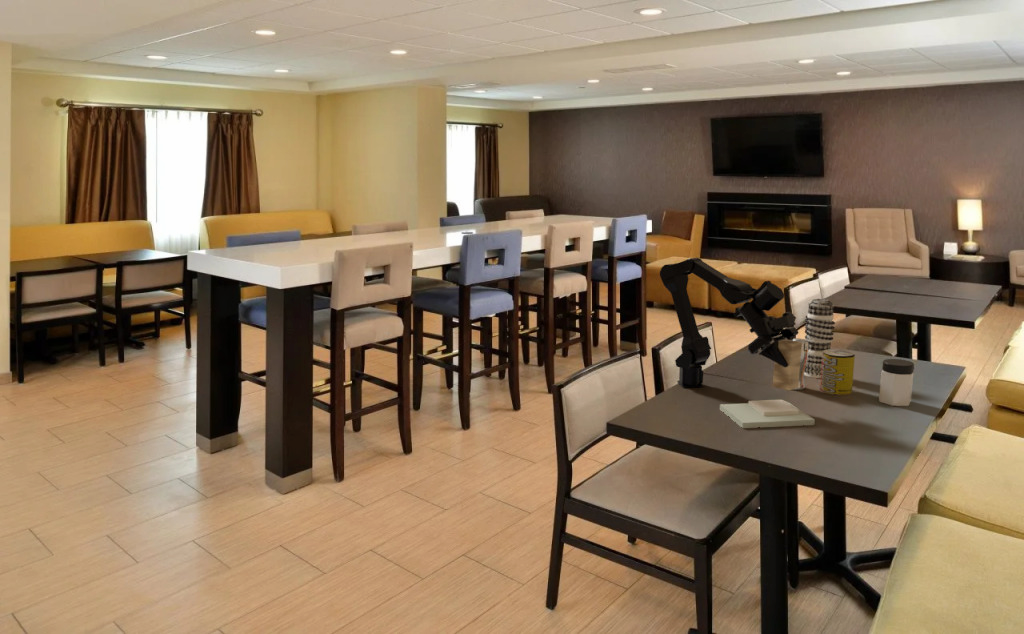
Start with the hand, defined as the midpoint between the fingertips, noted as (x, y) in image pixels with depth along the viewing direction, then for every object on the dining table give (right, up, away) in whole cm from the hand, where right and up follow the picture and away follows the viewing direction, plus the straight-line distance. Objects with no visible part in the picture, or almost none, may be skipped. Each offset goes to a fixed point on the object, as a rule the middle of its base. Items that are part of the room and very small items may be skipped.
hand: (791, 364), depth 215 cm
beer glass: (+10, -9, +25) cm, 29 cm away
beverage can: (+21, -10, +22) cm, 32 cm away
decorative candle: (+22, -6, +40) cm, 46 cm away
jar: (+34, -12, +10) cm, 37 cm away
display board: (-8, -14, -2) cm, 17 cm away
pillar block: (-1, -6, +2) cm, 7 cm away
